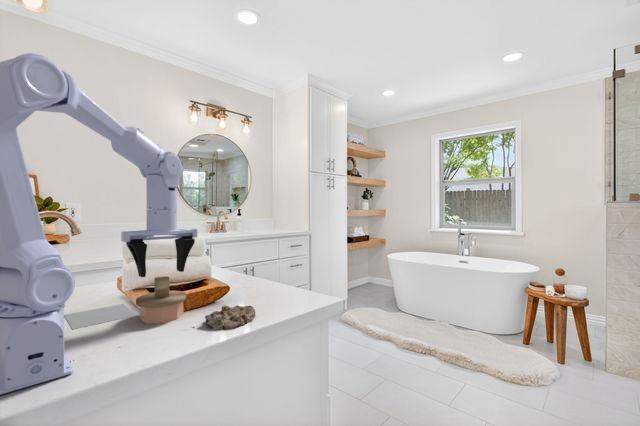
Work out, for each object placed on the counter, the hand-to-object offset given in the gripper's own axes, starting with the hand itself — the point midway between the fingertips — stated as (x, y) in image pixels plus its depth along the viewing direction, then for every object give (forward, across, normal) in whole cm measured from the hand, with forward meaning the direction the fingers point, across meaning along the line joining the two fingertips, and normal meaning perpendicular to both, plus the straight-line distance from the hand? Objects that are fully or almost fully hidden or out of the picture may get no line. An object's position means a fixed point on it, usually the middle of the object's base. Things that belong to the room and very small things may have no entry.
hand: (162, 273), depth 67 cm
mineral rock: (+10, -10, +12) cm, 18 cm away
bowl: (+10, 0, 0) cm, 10 cm away
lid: (+6, 0, 0) cm, 6 cm away
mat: (+10, +9, -10) cm, 17 cm away
